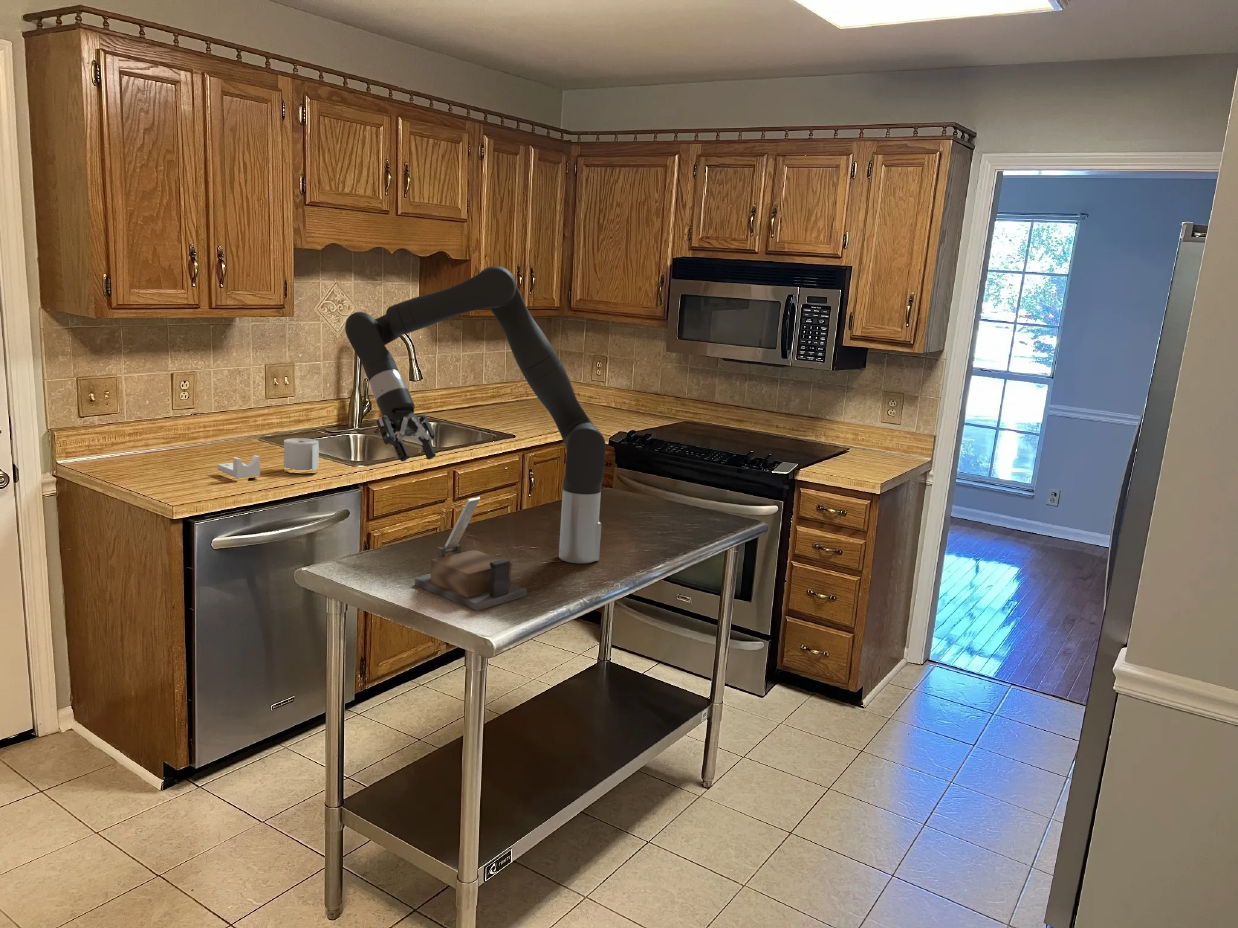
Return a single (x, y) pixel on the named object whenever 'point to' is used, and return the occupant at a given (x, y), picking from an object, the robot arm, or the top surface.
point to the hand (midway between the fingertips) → (419, 458)
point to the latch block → (471, 579)
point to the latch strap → (461, 524)
